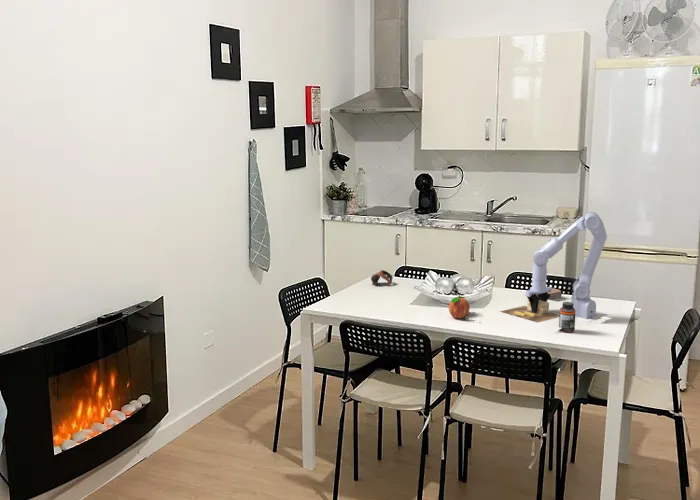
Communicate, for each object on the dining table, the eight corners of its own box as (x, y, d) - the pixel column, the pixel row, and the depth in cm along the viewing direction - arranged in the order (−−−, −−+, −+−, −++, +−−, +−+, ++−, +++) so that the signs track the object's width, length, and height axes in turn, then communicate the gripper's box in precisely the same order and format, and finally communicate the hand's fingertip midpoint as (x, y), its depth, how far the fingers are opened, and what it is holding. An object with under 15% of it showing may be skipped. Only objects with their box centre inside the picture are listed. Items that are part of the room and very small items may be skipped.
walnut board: (562, 319, 287) (562, 315, 287) (537, 326, 278) (537, 322, 278) (524, 308, 303) (524, 305, 303) (499, 314, 294) (499, 311, 294)
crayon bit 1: (525, 315, 287) (525, 314, 287) (523, 316, 287) (523, 314, 286) (516, 313, 291) (516, 311, 291) (514, 313, 291) (514, 311, 290)
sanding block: (548, 313, 291) (549, 302, 290) (542, 314, 289) (542, 304, 288) (533, 309, 297) (533, 298, 297) (527, 310, 295) (527, 300, 294)
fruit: (473, 317, 291) (474, 294, 289) (461, 322, 284) (461, 298, 282) (456, 313, 296) (456, 290, 295) (443, 318, 289) (444, 294, 288)
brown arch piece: (378, 282, 356) (386, 269, 353) (389, 293, 350) (398, 280, 348) (363, 280, 347) (371, 266, 344) (374, 291, 341) (383, 278, 339)
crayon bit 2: (535, 316, 287) (535, 314, 287) (533, 316, 286) (533, 314, 286) (526, 313, 291) (526, 311, 291) (524, 313, 290) (524, 311, 290)
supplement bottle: (563, 327, 276) (564, 300, 274) (577, 330, 272) (579, 302, 270) (555, 331, 272) (557, 302, 270) (570, 334, 268) (571, 305, 266)
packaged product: (549, 286, 327) (565, 290, 319) (548, 296, 328) (565, 300, 320) (521, 290, 317) (538, 295, 309) (521, 301, 318) (537, 306, 310)
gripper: (543, 275, 298) (541, 306, 300) (520, 279, 290) (518, 311, 292) (556, 278, 292) (554, 309, 295) (533, 282, 284) (532, 315, 286)
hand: (537, 310), depth 293 cm, fingers closed on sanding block, 4 cm apart
